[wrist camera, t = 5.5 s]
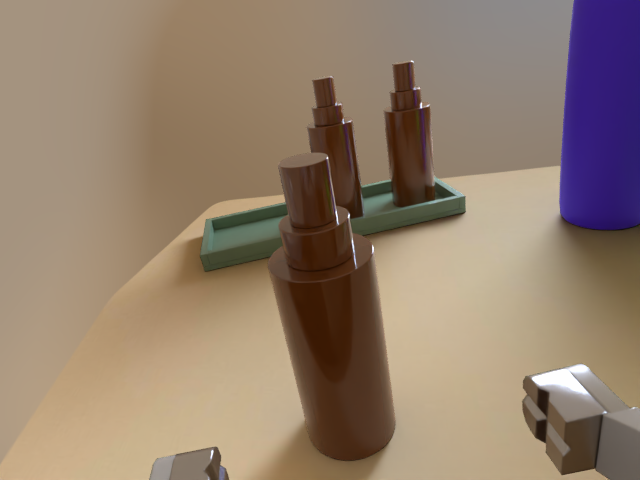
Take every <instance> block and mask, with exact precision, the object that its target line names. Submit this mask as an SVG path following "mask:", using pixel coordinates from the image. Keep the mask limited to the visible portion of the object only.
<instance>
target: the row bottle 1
mask: <svg viewBox="0 0 640 480" xmlns="http://www.w3.org/2000/svg"><path fill="white" fill-rule="evenodd" d="M312 81H313V88H314V94H315V100H316V106H313V107H312V114H313V120H314V122H313V123H310V124H308V125H307V132H308V138H309V144H310V150H311V153H325V154H327V155H328V157H329V164H330V170H331V176H332V182H333V189H334V195H335V201H336V206H340V207H343V208H345V209H347V210H348V211H349V213H350V219H353V218H358V217H362V216H364V215H365V209H364V202H363V194H362V186H361V179H360V171H359V164H358V156H357V149H356V141H355V133H354V125H353V119H352V118H350V117H344V113H343V105H342V102H337V100H336V93H335V86H334V79H333V76H325V77H320V78H315V79H313V80H312Z"/></svg>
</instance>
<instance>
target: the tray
mask: <svg viewBox="0 0 640 480" xmlns="http://www.w3.org/2000/svg"><path fill="white" fill-rule="evenodd" d="M434 181H435V200H434V201H429V202H425V203H421V204H416V205H412V206H407V207H403V208H401V207H397V206H395V205H394V204H393V201H392V191H391V181H390V180H386V181H381V182H377V183H372V184H367V185H363V186H362V194H363V202H364V209H365V215H364V216H362V217H358V218H353V219H351V226H352V232H353V233H356V234H359V235H362V236H363V235H367V234H371V233H376V232H380V231H385V230H389V229H393V228H398V227H402V226H407V225H411V224H415V223H420V222H424V221H428V220H433V219H437V218H442V217H446V216H450V215H455V214H459V213H464V212H466V210H465V196H464V195H463V194H461V193H460V192H458V191H456V190H455V189H453V188H452V187H450V186H449V185H447V184H446V183H444V182H442V181H441V180H439V179H438V178H436V177H435V176H434ZM286 215H288V211H287V207H286V202H284V203H280V204H275V205H271V206H266V207H261V208H257V209H252V210H248V211H243V212H238V213H234V214H229V215H225V216H220V217H215V218H211V219H206V222H205V228H204V234H203V240H202V246H201V253H200V257H201V260H202V264H203V267H204V270H205V271H209V270H213V269H218V268H222V267H227V266H231V265H235V264H240V263H244V262H249V261H253V260H257V259H262V258H266V257H271V256H272V254H273V253H274V252H275V251H276V250H277V249H279V248H280V247H281V246H282V241H281V237H280V232H279V228H278V225H279V222H280V221H281V219H283V218H284V217H285V216H286Z"/></svg>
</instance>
